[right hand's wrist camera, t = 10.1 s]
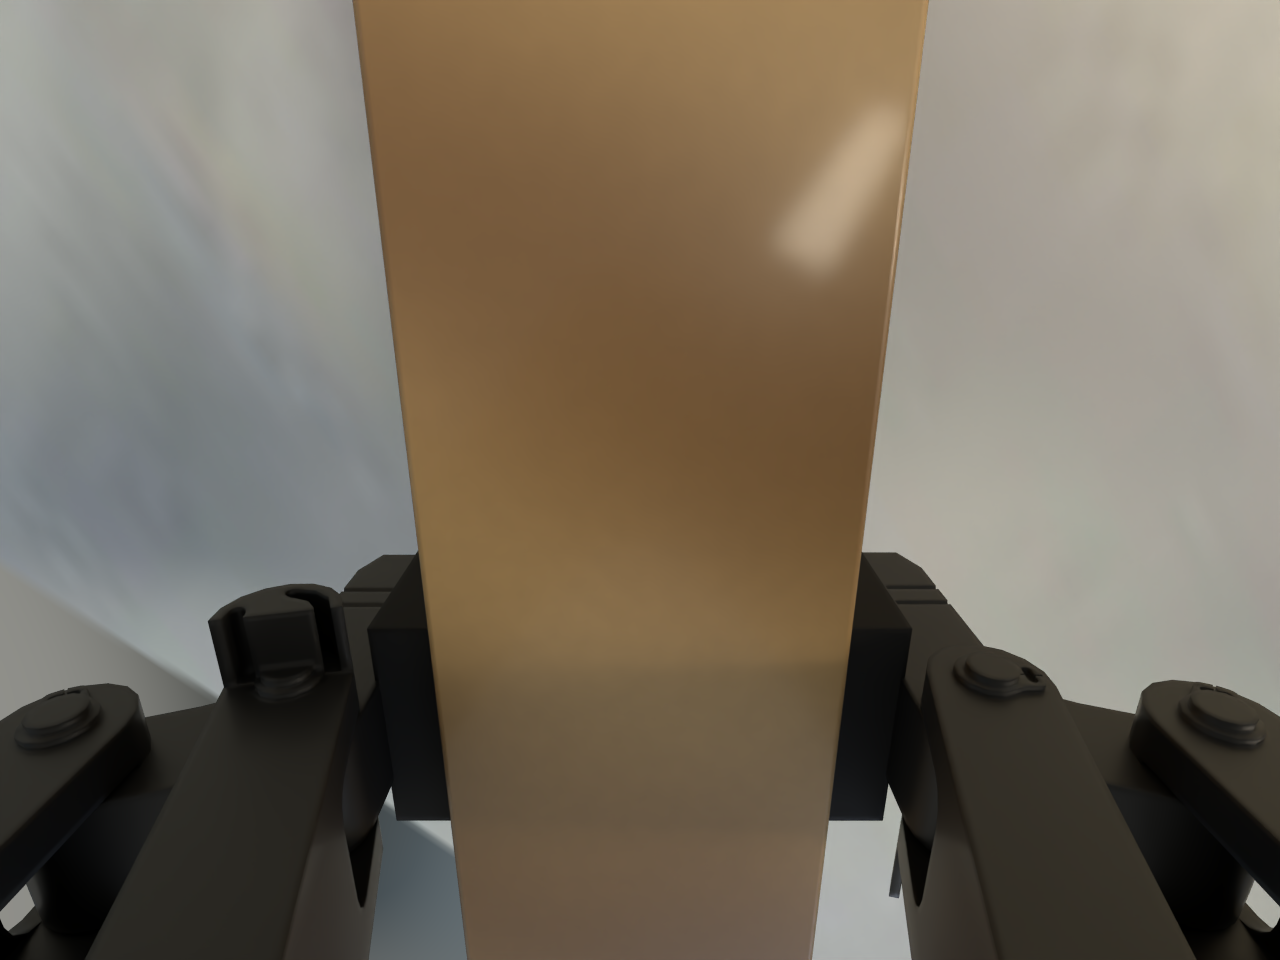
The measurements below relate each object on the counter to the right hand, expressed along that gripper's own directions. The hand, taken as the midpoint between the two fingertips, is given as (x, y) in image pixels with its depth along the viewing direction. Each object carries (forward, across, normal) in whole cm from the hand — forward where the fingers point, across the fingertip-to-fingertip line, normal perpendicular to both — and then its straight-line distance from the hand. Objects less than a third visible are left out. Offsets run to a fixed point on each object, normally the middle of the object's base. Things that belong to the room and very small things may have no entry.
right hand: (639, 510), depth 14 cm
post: (+1, 0, -34) cm, 34 cm away
